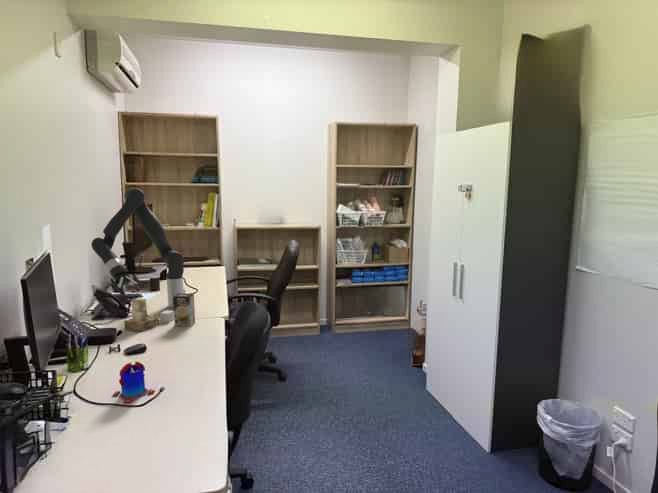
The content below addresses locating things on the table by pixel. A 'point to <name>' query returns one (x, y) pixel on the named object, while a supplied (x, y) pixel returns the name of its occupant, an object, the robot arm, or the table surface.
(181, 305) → the coffee box
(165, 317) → the grey block
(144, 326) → the walnut block
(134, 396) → the fantasy tower
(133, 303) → the oak block
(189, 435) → the table surface
